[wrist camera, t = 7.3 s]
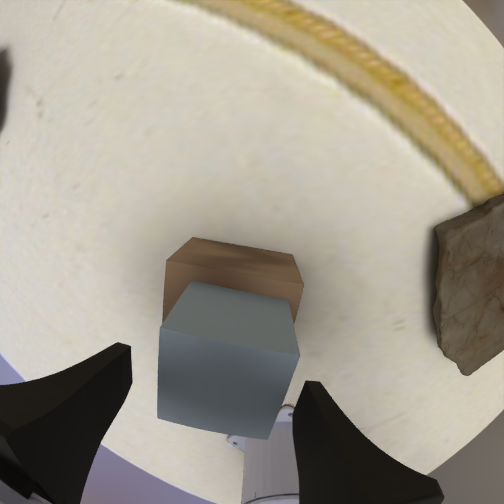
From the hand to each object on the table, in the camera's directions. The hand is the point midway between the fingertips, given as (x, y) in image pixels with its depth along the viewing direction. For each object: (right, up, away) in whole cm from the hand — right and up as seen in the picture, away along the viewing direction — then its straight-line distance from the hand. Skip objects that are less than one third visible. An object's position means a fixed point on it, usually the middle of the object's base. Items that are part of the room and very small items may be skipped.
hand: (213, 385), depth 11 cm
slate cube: (0, +1, +4) cm, 5 cm away
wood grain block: (0, +2, +10) cm, 11 cm away
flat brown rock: (+24, +3, +10) cm, 26 cm away
